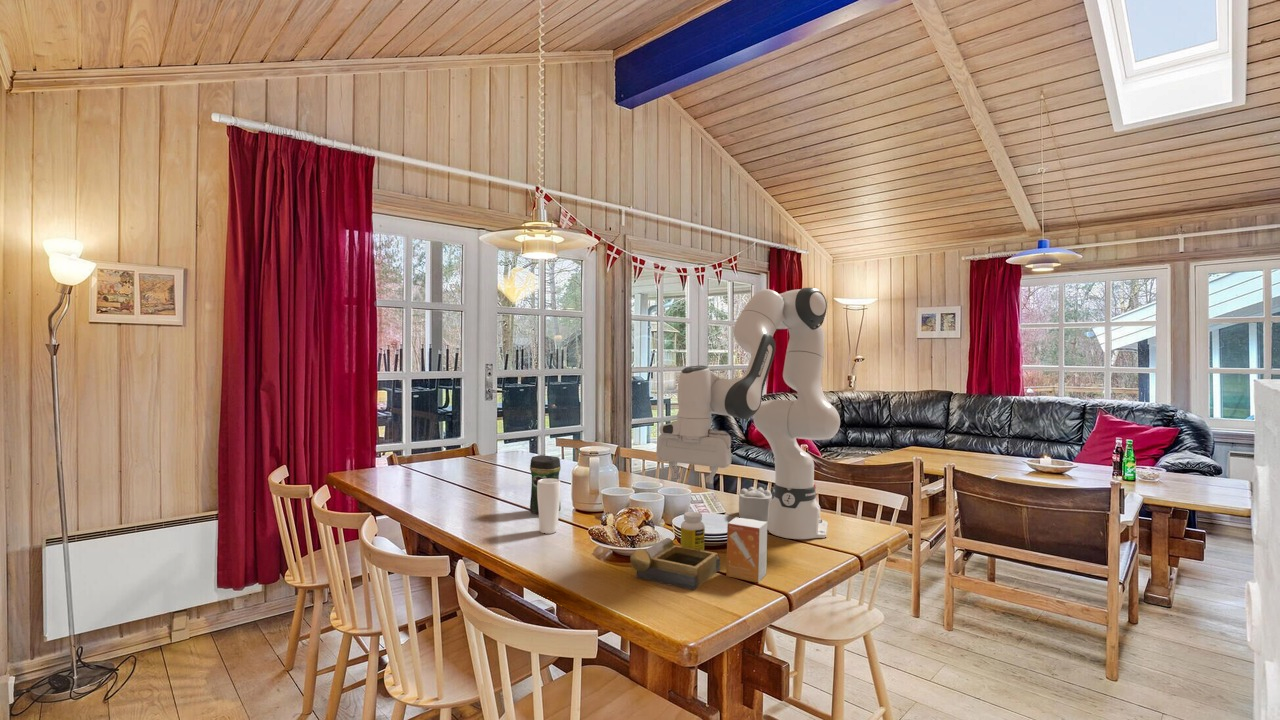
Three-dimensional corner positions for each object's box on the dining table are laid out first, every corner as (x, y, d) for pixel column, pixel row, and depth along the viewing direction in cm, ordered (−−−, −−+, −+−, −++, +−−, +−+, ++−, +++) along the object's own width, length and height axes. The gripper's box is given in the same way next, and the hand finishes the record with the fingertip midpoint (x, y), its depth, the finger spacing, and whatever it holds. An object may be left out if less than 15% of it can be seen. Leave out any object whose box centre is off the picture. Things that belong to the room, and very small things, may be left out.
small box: (725, 577, 148) (726, 522, 147) (735, 568, 153) (735, 516, 153) (758, 583, 144) (759, 527, 143) (767, 574, 149) (767, 521, 149)
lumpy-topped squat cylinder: (737, 519, 196) (738, 492, 196) (740, 509, 209) (740, 483, 209) (771, 522, 194) (771, 494, 194) (772, 511, 207) (772, 485, 206)
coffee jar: (564, 511, 204) (564, 455, 204) (550, 517, 197) (551, 459, 197) (540, 507, 208) (540, 452, 208) (525, 513, 201) (526, 456, 201)
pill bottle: (697, 561, 158) (698, 518, 158) (676, 557, 161) (676, 514, 161) (708, 554, 163) (708, 513, 163) (687, 550, 166) (687, 509, 166)
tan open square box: (662, 557, 160) (662, 531, 160) (719, 569, 152) (720, 541, 152) (630, 578, 146) (630, 548, 146) (691, 592, 138) (692, 561, 138)
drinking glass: (562, 528, 185) (562, 478, 185) (557, 535, 178) (557, 483, 178) (540, 527, 186) (540, 477, 185) (534, 534, 179) (534, 482, 178)
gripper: (735, 430, 159) (734, 483, 159) (665, 424, 169) (664, 474, 169) (726, 432, 153) (725, 488, 154) (654, 426, 164) (652, 478, 164)
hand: (692, 481), depth 161 cm, fingers open, 8 cm apart
